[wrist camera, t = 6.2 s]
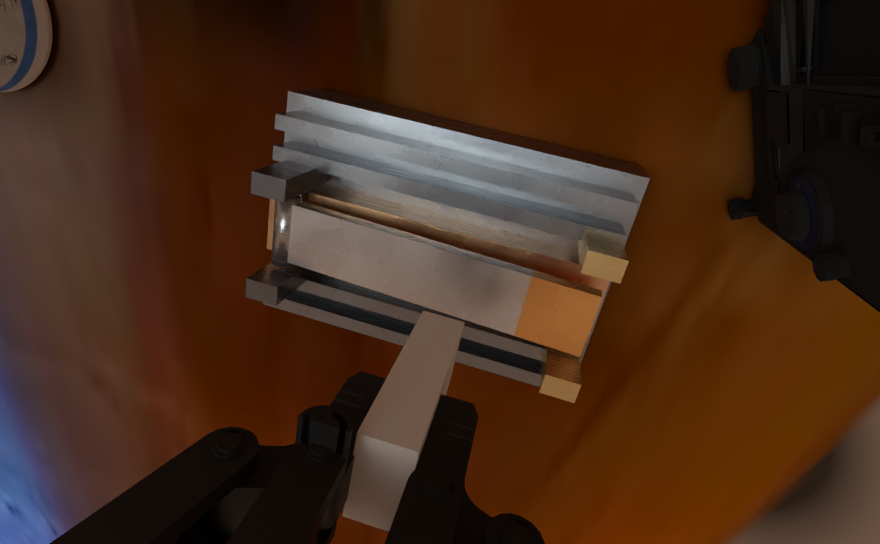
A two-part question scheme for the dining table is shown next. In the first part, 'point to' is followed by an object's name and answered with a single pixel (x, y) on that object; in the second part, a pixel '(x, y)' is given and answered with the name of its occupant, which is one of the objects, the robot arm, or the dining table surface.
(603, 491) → the dining table surface
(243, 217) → the dining table surface
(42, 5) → the supplement tub
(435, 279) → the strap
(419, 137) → the heatsink block
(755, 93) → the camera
